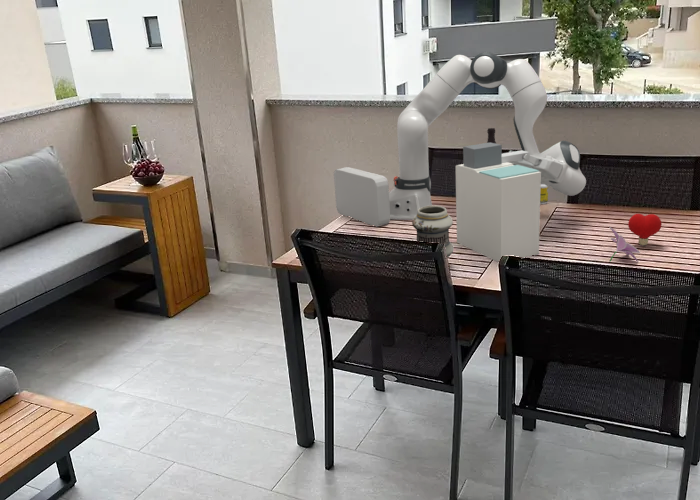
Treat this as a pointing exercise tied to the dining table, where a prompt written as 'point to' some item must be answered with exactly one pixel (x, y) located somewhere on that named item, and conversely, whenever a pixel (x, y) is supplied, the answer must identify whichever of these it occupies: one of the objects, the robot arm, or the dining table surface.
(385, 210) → the rounded white slab
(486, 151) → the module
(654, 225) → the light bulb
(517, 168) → the stand
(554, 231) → the dining table surface
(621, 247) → the lily
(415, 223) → the apothecary jar
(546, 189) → the supplement bottle
